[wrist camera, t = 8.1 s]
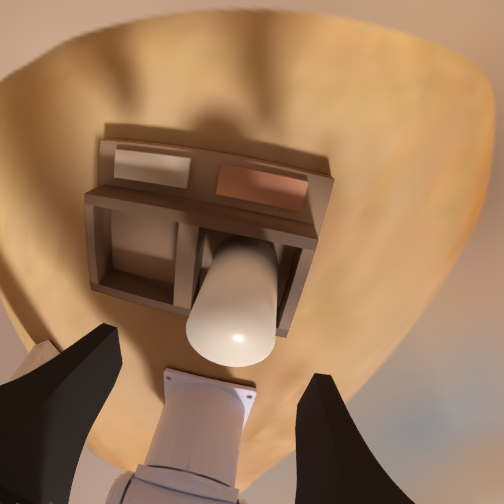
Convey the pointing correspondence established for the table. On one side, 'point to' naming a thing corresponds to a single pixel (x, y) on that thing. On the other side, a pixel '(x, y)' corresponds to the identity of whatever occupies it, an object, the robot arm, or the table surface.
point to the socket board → (196, 221)
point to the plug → (237, 304)
